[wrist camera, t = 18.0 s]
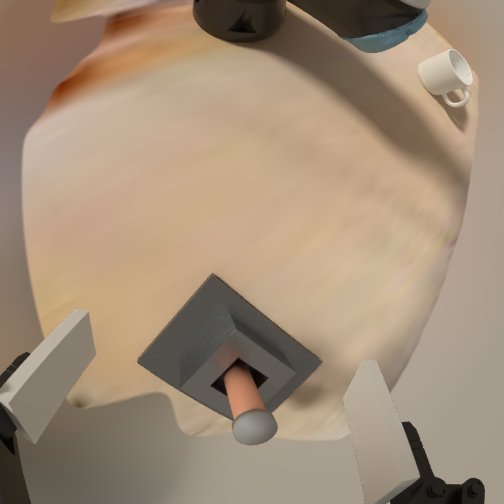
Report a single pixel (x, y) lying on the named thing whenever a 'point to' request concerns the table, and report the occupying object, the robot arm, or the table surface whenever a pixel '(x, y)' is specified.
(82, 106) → the table surface
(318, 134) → the table surface
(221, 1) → the robot arm
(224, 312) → the hitch plate
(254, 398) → the pin
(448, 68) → the cup
